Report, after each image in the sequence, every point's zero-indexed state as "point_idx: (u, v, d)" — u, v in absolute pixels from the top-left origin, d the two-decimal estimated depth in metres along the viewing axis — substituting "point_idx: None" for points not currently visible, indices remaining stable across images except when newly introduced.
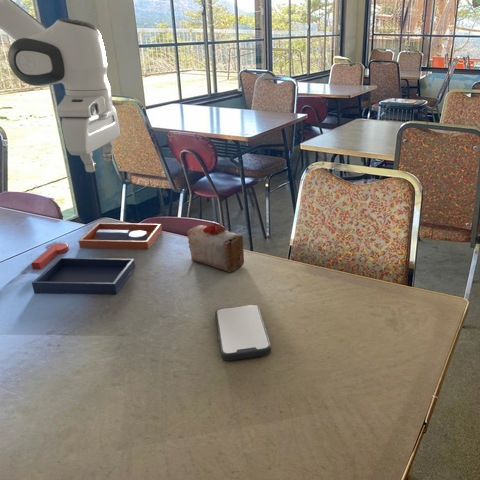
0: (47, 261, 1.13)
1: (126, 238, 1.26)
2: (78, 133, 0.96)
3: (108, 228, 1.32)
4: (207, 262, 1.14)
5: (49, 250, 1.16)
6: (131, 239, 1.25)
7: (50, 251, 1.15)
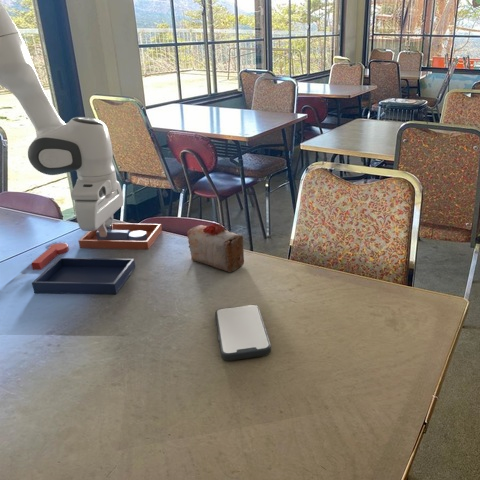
0: (47, 261, 1.13)
1: (126, 238, 1.26)
2: (88, 214, 1.14)
3: None
4: (207, 262, 1.14)
5: (49, 250, 1.16)
6: (131, 239, 1.25)
7: (50, 251, 1.15)
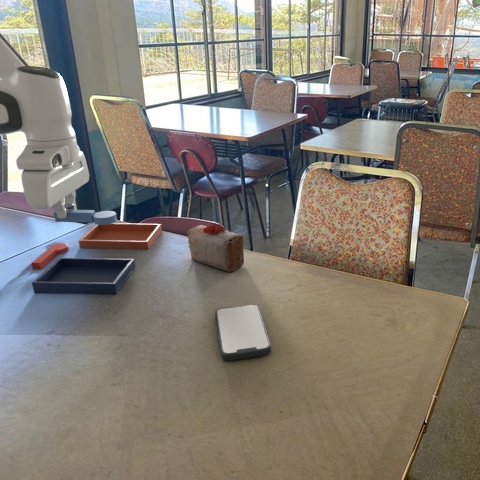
0: (47, 261, 1.13)
1: (91, 220, 1.03)
2: (39, 187, 0.91)
3: (108, 228, 1.32)
4: (207, 262, 1.14)
5: (49, 250, 1.16)
6: (96, 221, 1.02)
7: (50, 251, 1.15)
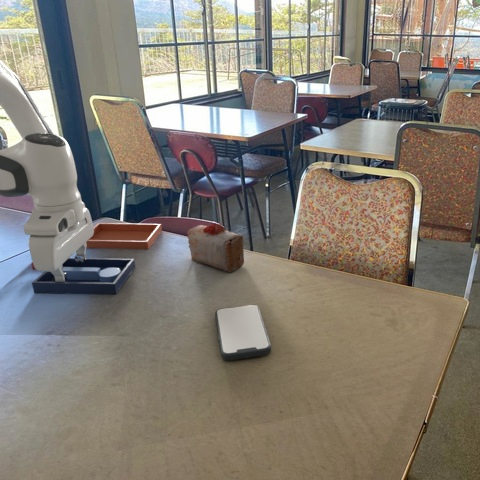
0: None
1: (96, 278, 1.06)
2: (45, 252, 0.94)
3: (108, 228, 1.32)
4: (207, 262, 1.14)
5: None
6: (102, 279, 1.05)
7: None
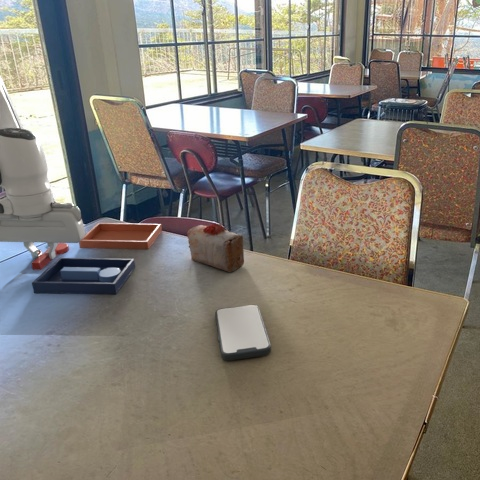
0: (47, 261, 1.13)
1: (96, 278, 1.06)
2: None
3: (108, 228, 1.32)
4: (207, 262, 1.14)
5: None
6: (102, 279, 1.05)
7: None
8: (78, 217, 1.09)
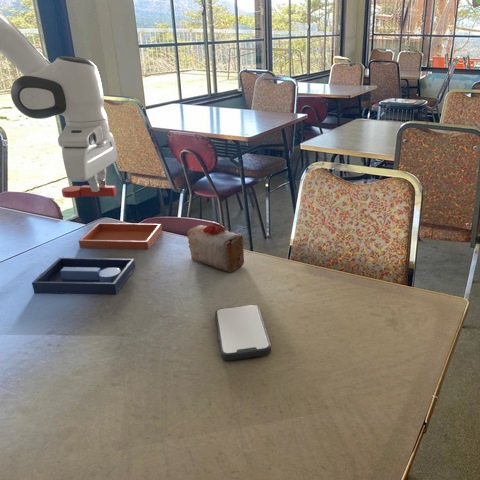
0: None
1: (96, 278, 1.06)
2: (77, 162, 1.04)
3: (108, 228, 1.32)
4: (207, 262, 1.14)
5: (86, 186, 1.16)
6: (102, 279, 1.05)
7: (89, 185, 1.17)
8: None
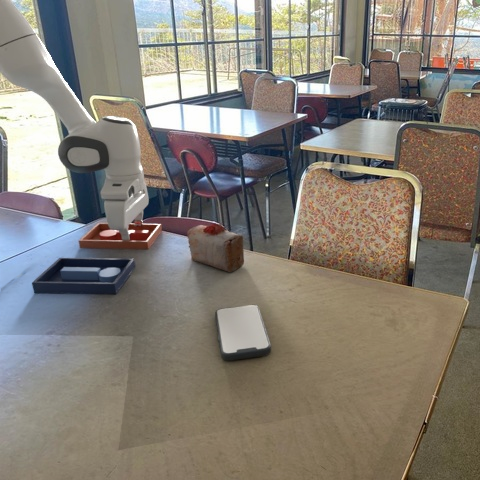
0: None
1: (96, 278, 1.06)
2: (118, 213, 1.14)
3: (108, 228, 1.32)
4: (207, 262, 1.14)
5: None
6: (102, 279, 1.05)
7: None
8: None
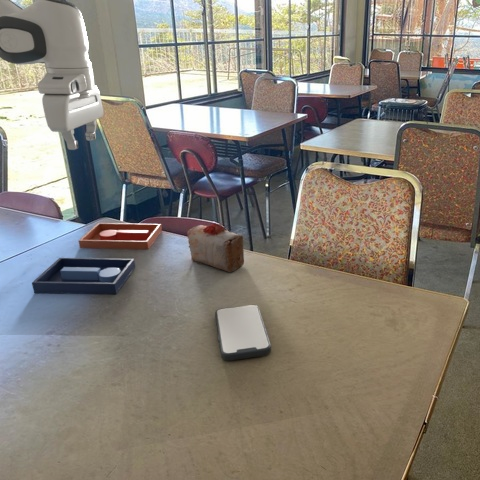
0: None
1: (96, 278, 1.06)
2: (58, 110, 0.97)
3: (108, 228, 1.32)
4: (207, 262, 1.14)
5: (122, 231, 1.26)
6: (102, 279, 1.05)
7: (125, 230, 1.27)
8: None
